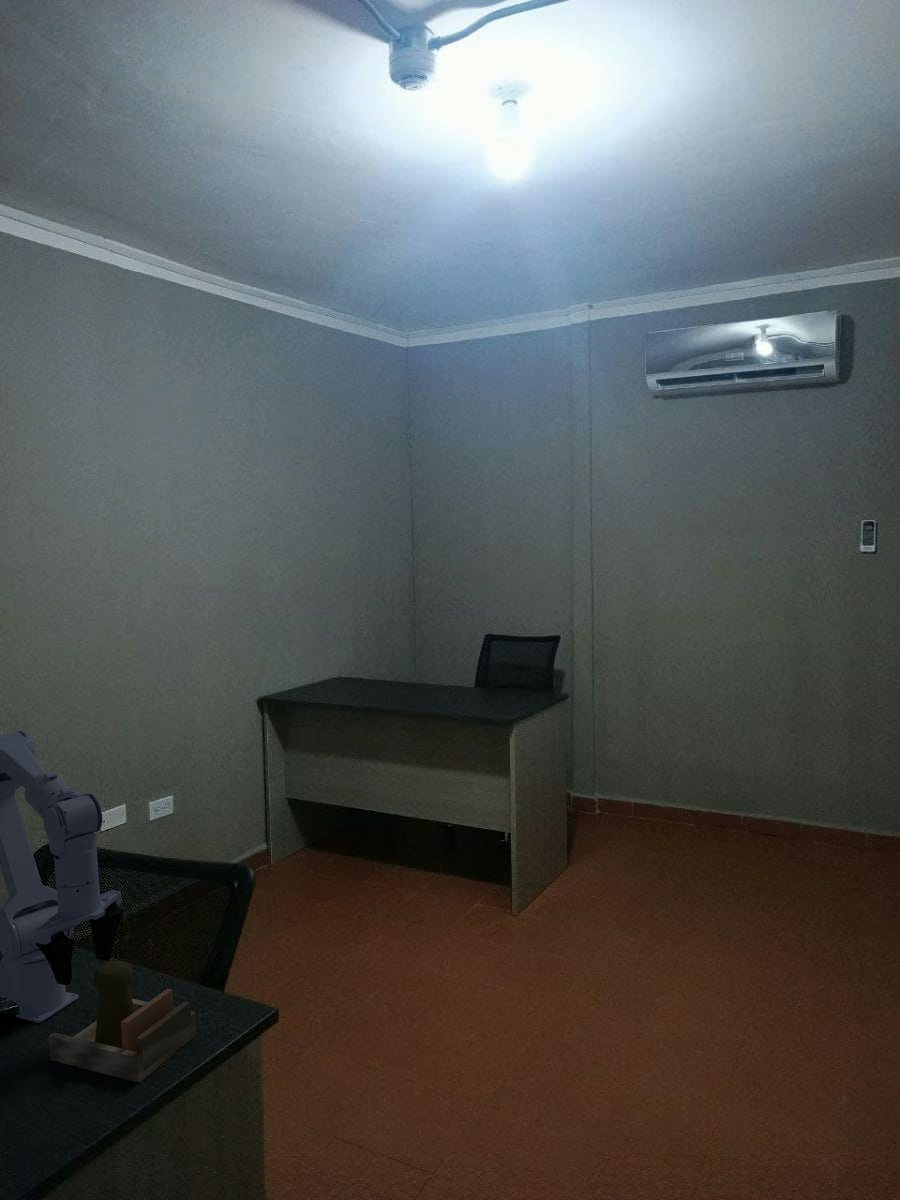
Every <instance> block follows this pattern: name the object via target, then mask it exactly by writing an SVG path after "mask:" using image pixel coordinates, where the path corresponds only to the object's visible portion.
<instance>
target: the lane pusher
mask: <svg viewBox="0 0 900 1200" xmlns="http://www.w3.org/2000/svg"><path fill="white" fill-rule="evenodd" d="M147 1002H148V1003H147V1004H145V1005H144V1006H142V1007H141V1008H140V1009H138V1010H137V1011H135V1012H134V1013H133V1014H131V1015H130V1016H129V1017H127V1018H126V1019H124V1020H123V1021H122V1022H121V1031H122V1046H123V1049H126V1050H130V1051H134V1052H137V1043H136V1038H137V1037H138V1036H140V1035H141V1034H142V1033H144V1032H145V1031H146V1030H148V1029H149V1028H150V1027H151V1026H153V1025H154V1024H155V1023H157V1022H158V1021H159V1020H161V1019H162V1018H163V1017H165V1016H166V1015H167V1014H169V1013H170V1012H171V1011H173V1010H174V1008H175V1006H174V1005H175V1004H174V989H171V988H166V989H165V990H164V991H161V993H159V994H158V995H157V996H155V997H154V998H152V999H151V1000H149V1001H147Z"/></svg>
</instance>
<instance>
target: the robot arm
mask: <svg viewBox="0 0 900 1200" xmlns="http://www.w3.org/2000/svg"><path fill="white" fill-rule="evenodd" d="M35 750H36V749H35V744H34V740H33V738H32V737H31V735H30V734H28V732H27V731H25V730H18V731H16V732H12V733H7V734H0V870H1V874H2V877H3V880H4V884H5V886H6V891H7V893H8V899H6V901H5V903H4V904H2V905H1V907H0V952H1V955H2V956H3V957H2V958H1V960H0V997H2V998H7V999H8V1000H11V1001H13V1002H15V1003H16V1004H17V1005H18V1006H19V1014H17V1015H16V1017H18V1018H17V1019H20V1018H21V1019H22V1020H25V1021H30V1022H33V1023H37V1024H39V1023H42V1022H44V1021H45V1020H47V1019H49V1018H50V1017H52V1016H53V1015H55V1014H56V1013H58V1012H60V1011H61V1010H63V1009H64V1008H65V1007H67V1006H69V1005H70V1004H72V1003H73V1002H75V1001H77V1000H78V999H79V998H80V996H79V994H76V993H72V992H67V991H66V986H69V985H70V984H72V978H73V976H72V975H73V971H72V968H73V967H72V959H73V958H72V957H73V951H74V947H75V943H76V939H75V938H72V936H73V933H74V929H75V927H76V926H79V925H80V924H82V923H85V922H87V921H88V923H89V926H90V930H91V932H92V939H93V946H94V953H95V957H96V960H100V961H105V962H106V961H108V962H109V961H110V960H111V957H112V952H113V945H114V941H115V937H116V933H117V930H118V928H119V925H120V923H121V921H122V918H123V917H124V916H125V915H124V909H123V908H121V907H118V906H120V905H122V904H123V903H122V892H121V891H119V890H113V889H112V890H111V889H110V890H109V891H105V892H104V893H101V891H100V879H99V878H100V877H99V876H100V875H99V864H98V863H99V862H98V848H97V838H96V837H97V835H96V833H98V832H100V830H101V829H102V826H103V820H104V819H103V812H102V811H103V810H102V808H101V805H100V802H99V801H98V798H97V797H96V796H95V795H94V794H93V793H91V792H87V793H84V792H77V791H76V790H75V789H74V788H73V786H71V785H70V784H69V783H68V782H67V781H66V780H65V779H64V778H63V777H62V776H61V775H60V774H59V773H58V772H55V771H46V770H45V769H44V768H43V766H42V765H41V764H40V762H39V761H38V760H37V758H36V757H35V755H36V754H35V753H36V751H35ZM20 787H23V788H24V798H25V802H26V803H27V804H28V805H29V806H30V807H31V808H32V809H33V810H34V811H35V812H36V814H38V815H39V817H40V818H42V819H43V821H42V822H43V827H44V830H45V831H44V832H45V834H46V836H47V839H48V848H49V850H50V853H51V854H53V859H54V873H55V875H54V876H55V884H56V885H55V887H56V889H54V888H52V887H49V886H46V885H44V884H43V882H42V880H41V876H40V874H39V870H38V867H37V863H36V860H35V857H34V854H33V851H32V847H31V844H30V840H29V838H28V834H27V831H26V828H25V825H24V821H23V818H22V815H21V814H22V813H21V812H20V809H19V805H18V802H17V799H16V791H17V790H18V789H19V788H20ZM100 893H101V894H100ZM16 1017H15V1018H16Z"/></svg>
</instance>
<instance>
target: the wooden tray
mask: <svg viewBox="0 0 900 1200" xmlns="http://www.w3.org/2000/svg"><path fill="white" fill-rule="evenodd" d="M132 1001H133V1006H134V1011H137V1010H138V1009H140V1008H141V1007H142V1006H144V1005H145V1004H147V1003H148V1002H149V1001H144V1000H139V999H135V998H132ZM191 1008H192V1007H191V1002H189V1001H183V1002H181V1003H180V1004H179V1005H178V1006H176V1007H174V1010H173V1011H171V1012H170V1013H169V1014H167V1015H166V1016H165V1017H163V1018H162V1019H161V1020H159V1021H158V1022H157V1023H155V1024H154V1025H153V1026H151V1027H150V1028H149V1029H148V1030H146V1031H145V1032H144V1033H142V1034H141V1035H140V1036H138V1037H137V1038H136V1043H137V1052H134V1051H130V1050H126V1049H123V1048H117V1047H113V1046H109V1045H105V1044H101V1043H96V1042H95V1035H96V1022H97V1020H95V1021H94V1022H92V1023H91V1024H90V1025H88V1026H87V1027H85V1028H84V1029H82V1030H81V1031H80V1032H78V1033H77V1034H75V1035H74V1036H72V1035H67V1034H63V1033H58V1032H55V1031H54V1032H52V1033H51V1034H49V1035H48V1047H49V1050H48V1051H49V1060H50V1061H52V1062H57V1063H60V1064H65V1065H69V1066H72V1067H77V1068H81V1069H84V1070H89V1071H93V1072H96V1073H99V1074H104V1075H107V1076H111V1077H116V1078H118V1079H119V1078H120V1079H124V1080H127V1081H131V1082H135V1083H138V1082H139V1083H141V1082H142V1081H144V1080H145V1079H146V1078H147V1077H149V1075H151V1074H152V1073H153V1072H154V1071H155V1070H156V1069H158V1068H159V1067H160V1066H161V1065H162V1064H164V1063H165V1062H166V1061H167V1060H169V1057H170V1058H171V1057H173V1055H174V1053H175V1054H176V1053H177V1052H178V1051H179V1050H181V1049H182V1048H183V1047H185V1045H186V1044H188V1043H189V1042H191V1040H193V1039H194V1038H195V1037H196V1036H198V1034H197V1032H198V1031H197V1018H196V1016H197V1015H196V1012H195V1011H192V1009H191ZM187 1042H188V1043H187ZM181 1047H182V1048H181ZM180 1048H181V1049H180ZM177 1050H178V1051H177ZM176 1051H177V1052H176ZM145 1077H146V1078H145Z"/></svg>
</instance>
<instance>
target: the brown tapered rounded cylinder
mask: <svg viewBox="0 0 900 1200" xmlns="http://www.w3.org/2000/svg"><path fill="white" fill-rule="evenodd" d="M132 978H133V969H132V967H131V965H130V964H129V963H128V962H126V961H124V960H123V961H121V960H113V961H112V960H111V961H108V962H106V963H104V964H102V965H101V966H99V967H98V968H97V969H96V970H95V974H94V978H93V984H94V987H95V989H96V991H98V995H97V996H98V997H97V998H98V999H97V1011H96V1021H97V1022H96V1035H95V1042H96V1043H101V1044H105V1045H109V1046H113V1047H117V1048H123V1046H122V1031H121V1022H122V1021H123V1020H124V1019H126V1018H127V1017H129V1016H130V1015H131V1014H133V1013H134V1012H135V1011H134V1006H133V1001H132V999H133V998H132V992H131V987H130V984H131V982H132Z"/></svg>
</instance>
